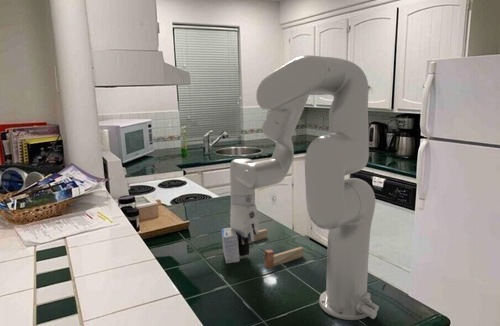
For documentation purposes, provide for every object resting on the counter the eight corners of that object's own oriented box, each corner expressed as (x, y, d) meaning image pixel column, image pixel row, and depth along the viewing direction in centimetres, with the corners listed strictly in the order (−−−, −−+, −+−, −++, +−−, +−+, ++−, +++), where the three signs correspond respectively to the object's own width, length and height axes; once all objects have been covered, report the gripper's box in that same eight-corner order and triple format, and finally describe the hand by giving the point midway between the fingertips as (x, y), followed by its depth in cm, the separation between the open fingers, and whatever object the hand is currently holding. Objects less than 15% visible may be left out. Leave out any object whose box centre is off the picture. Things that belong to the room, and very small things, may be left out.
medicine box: (239, 262, 113) (238, 235, 111) (225, 264, 112) (223, 237, 111) (236, 251, 121) (234, 226, 119) (223, 253, 120) (221, 228, 118)
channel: (303, 257, 117) (303, 242, 116) (268, 268, 109) (268, 252, 108) (264, 236, 134) (264, 223, 133) (231, 245, 126) (231, 231, 125)
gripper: (266, 202, 109) (267, 260, 112) (240, 191, 121) (241, 244, 125) (245, 206, 105) (246, 266, 108) (220, 195, 117) (221, 249, 120)
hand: (243, 254), depth 116 cm, fingers closed
